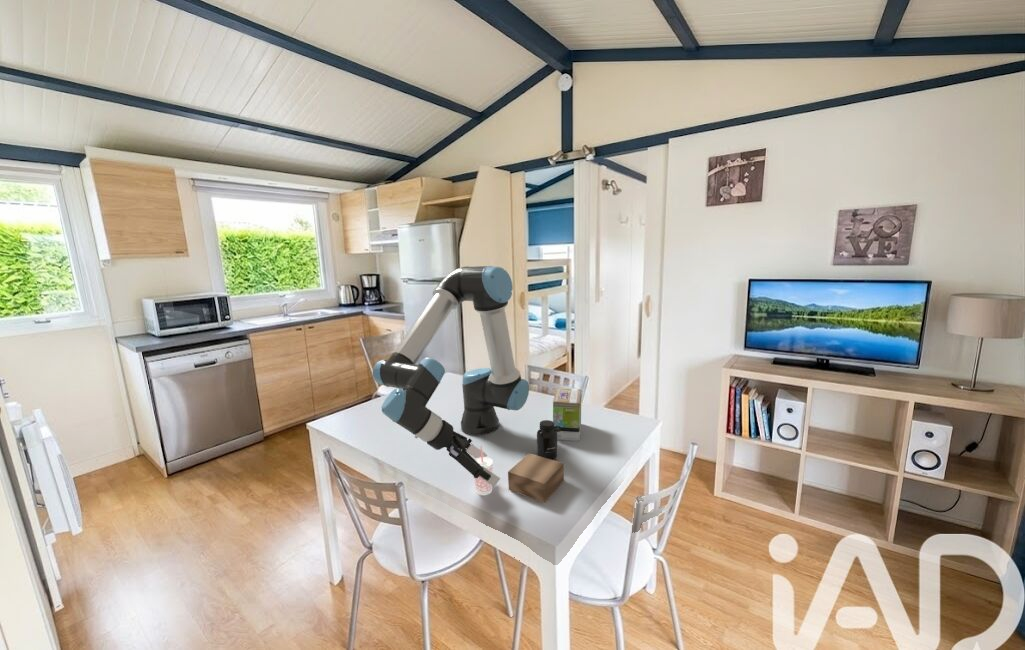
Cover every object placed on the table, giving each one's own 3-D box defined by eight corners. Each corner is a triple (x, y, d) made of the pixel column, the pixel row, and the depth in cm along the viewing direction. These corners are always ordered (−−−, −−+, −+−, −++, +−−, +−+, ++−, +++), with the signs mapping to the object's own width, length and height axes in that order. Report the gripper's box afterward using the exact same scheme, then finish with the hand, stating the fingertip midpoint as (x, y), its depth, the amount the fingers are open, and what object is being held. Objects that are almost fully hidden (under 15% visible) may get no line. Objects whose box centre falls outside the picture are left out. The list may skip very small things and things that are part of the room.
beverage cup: (488, 498, 111) (486, 453, 108) (469, 494, 113) (466, 449, 110) (498, 486, 116) (495, 443, 113) (479, 482, 119) (477, 439, 116)
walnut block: (508, 490, 115) (507, 471, 114) (529, 470, 124) (529, 453, 123) (544, 503, 108) (544, 483, 107) (564, 481, 118) (563, 463, 117)
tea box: (580, 441, 141) (580, 402, 138) (552, 439, 143) (551, 401, 141) (581, 423, 156) (581, 388, 153) (556, 422, 158) (555, 387, 155)
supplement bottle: (552, 463, 127) (551, 429, 125) (533, 458, 131) (532, 425, 129) (561, 454, 133) (560, 421, 131) (543, 449, 137) (542, 417, 134)
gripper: (420, 423, 118) (472, 458, 125) (431, 464, 95) (493, 505, 102) (436, 403, 119) (487, 440, 126) (451, 440, 95) (512, 482, 103)
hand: (490, 469), depth 114 cm, fingers open, 13 cm apart
